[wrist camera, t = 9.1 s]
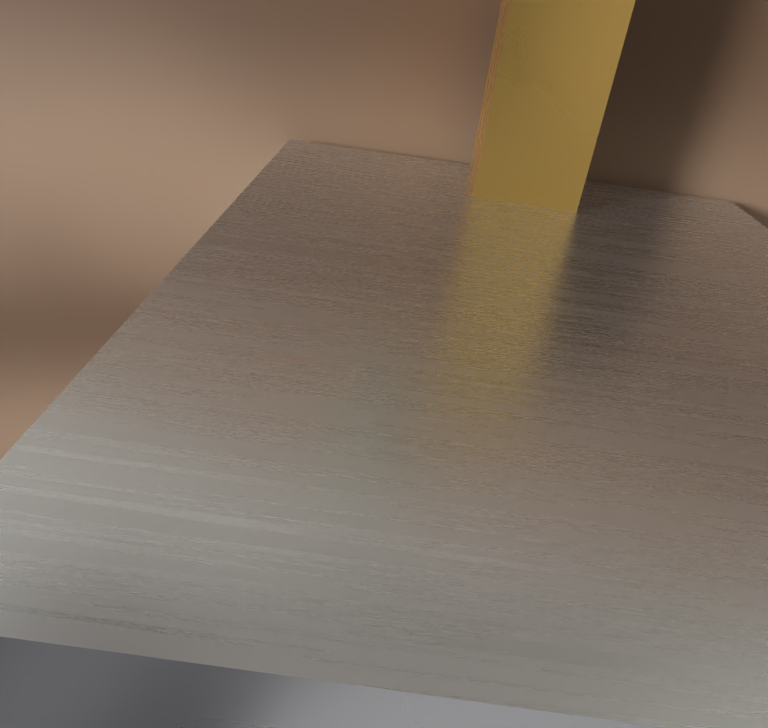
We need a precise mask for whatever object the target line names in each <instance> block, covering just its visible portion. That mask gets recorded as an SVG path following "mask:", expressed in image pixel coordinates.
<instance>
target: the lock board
mask: <svg viewBox="0 0 768 728" xmlns="http://www.w3.org/2000/svg"><path fill="white" fill-rule="evenodd" d="M500 5H501V0H0V460H1V459H2V457H3V456H4V455H5V454H6V453H7V452H8V451H9V450H10V449H11V447H12V446H13V445H14V444H15V443H16V442H17V441H18V440H19V439H20V438H21V436H22V435H23V434H24V433H25V432H26V431H27V430H28V429H29V428H30V426H31V425H32V424H33V423H34V422H35V421H36V420H37V419H38V418H39V416H40V415H41V414H42V413H43V412H44V411H45V410H46V409H47V408H48V406H49V405H50V404H51V403H52V402H53V401H54V400H55V399H56V398H57V397H58V395H59V394H60V393H61V392H62V391H63V390H64V389H65V388H66V387H67V385H68V384H69V383H70V382H71V381H72V380H73V379H74V378H75V377H76V375H77V374H78V373H79V372H80V371H81V370H82V369H83V368H84V367H85V366H86V364H87V363H88V362H89V361H90V360H91V359H92V358H93V357H94V356H95V354H96V353H97V352H98V351H99V350H100V349H101V348H102V347H103V346H104V344H105V343H106V342H107V341H108V340H109V339H110V338H111V337H112V336H113V334H114V333H115V332H116V331H117V330H118V329H119V328H120V327H121V326H122V325H123V323H124V322H125V321H126V320H127V319H128V318H129V317H130V316H131V315H132V313H133V312H134V311H135V310H136V309H137V308H138V307H139V306H140V305H141V303H142V302H143V301H144V300H145V299H146V298H147V297H148V296H149V295H150V294H151V292H152V291H153V290H154V289H155V288H156V287H157V286H158V285H159V284H160V282H161V281H162V280H163V279H164V278H165V277H166V276H167V275H168V274H169V272H170V271H171V270H172V269H173V268H174V267H175V266H176V265H177V264H178V262H179V261H180V260H181V259H182V258H183V257H184V256H185V255H186V254H187V253H188V251H189V250H190V249H191V248H192V247H193V246H194V245H195V244H196V243H197V241H198V240H199V239H200V238H201V237H202V236H203V235H204V234H205V233H206V231H207V230H208V229H209V228H210V227H211V226H212V225H213V224H214V223H215V222H216V220H217V219H218V218H219V217H220V216H221V215H222V214H223V213H224V212H225V210H226V209H227V208H228V207H229V206H230V205H231V204H232V203H233V202H234V200H235V199H236V198H237V197H238V196H239V195H240V194H241V193H242V192H243V190H244V189H245V188H246V187H247V186H248V185H249V184H250V183H251V182H252V181H253V179H254V178H255V177H256V176H257V175H258V174H259V173H260V172H261V171H262V169H263V168H264V167H265V166H266V165H267V164H268V163H269V162H270V161H271V159H272V158H273V157H274V156H275V155H276V154H277V153H278V152H279V151H280V150H281V148H282V147H283V146H284V145H285V144H286V143H287V142H288V141H289V140H290V139H292V140H299V141H306V142H313V143H320V144H328V145H335V146H342V147H349V148H356V149H363V150H370V151H377V152H384V153H391V154H398V155H405V156H412V157H419V158H426V159H433V160H440V161H447V162H454V163H461V164H468V165H471V160H472V155H473V149H474V144H475V139H476V133H477V128H478V123H479V117H480V112H481V107H482V101H483V96H484V91H485V85H486V80H487V75H488V69H489V64H490V59H491V53H492V48H493V43H494V37H495V32H496V27H497V21H498V16H499V11H500ZM586 181H588V182H595V183H602V184H609V185H616V186H623V187H630V188H637V189H644V190H651V191H658V192H665V193H672V194H679V195H686V196H694V197H701V198H708V199H715V200H722V201H729V202H733V203H734V204H735V205H737V206H738V207H739V208H741V209H742V210H743V211H745V212H746V213H747V214H749V215H750V216H751V217H753V218H754V219H755V220H757V221H758V222H759V223H761V224H762V225H763V226H765V227H766V228H767V229H768V0H636V1H635V4H634V8H633V11H632V15H631V19H630V22H629V26H628V29H627V33H626V37H625V40H624V44H623V47H622V51H621V55H620V58H619V62H618V65H617V69H616V73H615V76H614V80H613V83H612V87H611V91H610V94H609V98H608V101H607V105H606V109H605V112H604V116H603V119H602V123H601V127H600V130H599V134H598V137H597V141H596V145H595V148H594V152H593V155H592V159H591V163H590V166H589V170H588V173H587V177H586Z"/></svg>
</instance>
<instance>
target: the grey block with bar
mask: <svg viewBox="0 0 768 728" xmlns="http://www.w3.org/2000/svg"><path fill="white" fill-rule="evenodd" d="M635 1H636V0H501V5H500V11H499V16H498V21H497V27H496V32H495V37H494V43H493V48H492V53H491V59H490V64H489V69H488V75H487V80H486V85H485V91H484V96H483V101H482V107H481V112H480V117H479V123H478V128H477V133H476V139H475V144H474V149H473V155H472V160H471V165H468V164H461V163H454V162H447V161H440V160H433V159H426V158H419V157H412V156H405V155H398V154H391V153H384V152H377V151H370V150H363V149H356V148H349V147H342V146H335V145H328V144H320V143H313V142H306V141H299V140H292V139H290V140H289V141H288V142H287V143H286V144H285V145H284V146H283V147H282V148H281V150H280V151H279V152H278V153H277V154H276V155H275V156H274V157H273V158H272V159H271V161H270V162H269V163H268V164H267V165H266V166H265V167H264V168H263V169H262V171H261V172H260V173H259V174H258V175H257V176H256V177H255V178H254V179H253V181H252V182H251V183H250V184H249V185H248V186H247V187H246V188H245V189H244V190H243V192H242V193H241V194H240V195H239V196H238V197H237V198H236V199H235V200H234V202H233V203H232V204H231V205H230V206H229V207H228V208H227V209H226V210H225V212H224V213H223V214H222V215H221V216H220V217H219V218H218V219H217V220H216V222H215V223H214V224H213V225H212V226H211V227H210V228H209V229H208V230H207V231H206V233H205V234H204V235H203V236H202V237H201V238H200V239H199V240H198V241H197V243H196V244H195V245H194V246H193V247H192V248H191V249H190V250H189V251H188V253H187V254H186V255H185V256H184V257H183V258H182V259H181V260H180V261H179V262H178V264H177V265H176V266H175V267H174V268H173V269H172V270H171V271H170V272H169V274H168V275H167V276H166V277H165V278H164V279H163V280H162V281H161V282H160V284H159V285H158V286H157V287H156V288H155V289H154V290H153V291H152V292H151V294H150V295H149V296H148V297H147V298H146V299H145V300H144V301H143V302H142V303H141V305H140V306H139V307H138V308H137V309H136V310H135V311H134V312H133V313H132V315H131V316H130V317H129V318H128V319H127V320H126V321H125V322H124V323H123V325H122V326H121V327H120V328H119V329H118V330H117V331H116V332H115V333H114V334H113V336H112V337H111V338H110V339H109V340H108V341H107V342H106V343H105V344H104V346H103V347H102V348H101V349H100V350H99V351H98V352H97V353H96V354H95V356H94V357H93V358H92V359H91V360H90V361H89V362H88V363H87V364H86V366H85V367H84V368H83V369H82V370H81V371H80V372H79V373H78V374H77V375H76V377H75V378H74V379H73V380H72V381H71V382H70V383H69V384H68V385H67V387H66V388H65V389H64V390H63V391H62V392H61V393H60V394H59V395H58V397H57V398H56V399H55V400H54V401H53V402H52V403H51V404H50V405H49V406H48V408H47V409H46V410H45V411H44V412H43V413H42V414H41V415H40V416H39V418H38V419H37V420H36V421H35V422H34V423H33V424H32V425H31V426H30V428H29V429H28V430H27V431H26V432H25V433H24V434H23V435H22V436H21V438H20V439H19V440H18V441H17V442H16V443H15V444H14V445H13V446H12V447H11V449H10V450H9V451H8V452H7V453H6V454H5V455H4V456H3V457H2V459H1V460H0V728H768V229H767V228H766V227H765V226H763V225H762V224H761V223H759V222H758V221H757V220H755V219H754V218H753V217H751V216H750V215H749V214H747V213H746V212H745V211H743V210H742V209H741V208H739V207H738V206H737V205H735V204H734V203H733V202H729V201H722V200H715V199H708V198H701V197H694V196H686V195H679V194H672V193H665V192H658V191H651V190H644V189H637V188H630V187H623V186H616V185H609V184H602V183H595V182H588V181H586V177H587V173H588V170H589V166H590V163H591V159H592V155H593V152H594V148H595V145H596V141H597V137H598V134H599V130H600V127H601V123H602V119H603V116H604V112H605V109H606V105H607V101H608V98H609V94H610V91H611V87H612V83H613V80H614V76H615V73H616V69H617V65H618V62H619V58H620V55H621V51H622V47H623V44H624V40H625V37H626V33H627V29H628V26H629V22H630V19H631V15H632V11H633V8H634V4H635Z"/></svg>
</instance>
